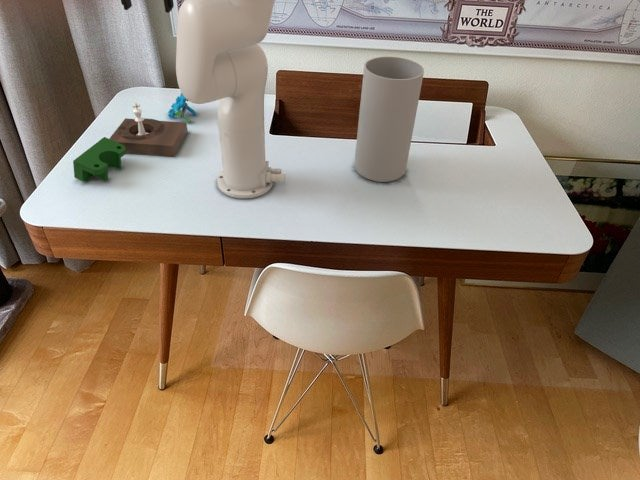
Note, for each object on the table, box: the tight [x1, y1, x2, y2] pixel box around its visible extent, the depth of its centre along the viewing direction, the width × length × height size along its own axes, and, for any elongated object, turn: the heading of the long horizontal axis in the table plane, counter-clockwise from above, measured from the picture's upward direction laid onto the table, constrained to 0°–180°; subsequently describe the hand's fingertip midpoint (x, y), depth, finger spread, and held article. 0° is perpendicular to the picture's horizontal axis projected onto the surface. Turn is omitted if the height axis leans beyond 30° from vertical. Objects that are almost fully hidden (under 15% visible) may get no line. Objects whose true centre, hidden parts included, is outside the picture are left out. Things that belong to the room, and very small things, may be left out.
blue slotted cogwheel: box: [167, 92, 197, 123], centre depth 133 cm, size 11×6×10 cm
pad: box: [108, 117, 189, 158], centre depth 123 cm, size 16×13×3 cm
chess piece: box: [132, 102, 148, 135], centre depth 121 cm, size 5×5×10 cm
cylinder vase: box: [353, 56, 425, 183], centre depth 110 cm, size 12×12×25 cm
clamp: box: [72, 136, 126, 183], centre depth 111 cm, size 12×6×9 cm
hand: (148, 9), depth 114 cm, fingers open, 9 cm apart
